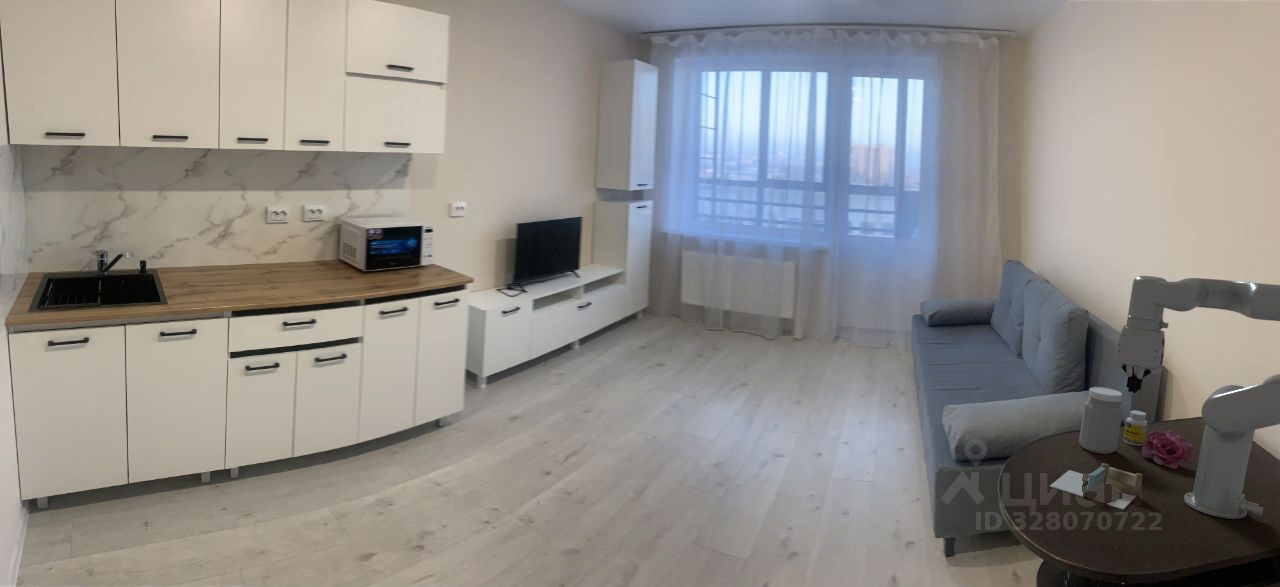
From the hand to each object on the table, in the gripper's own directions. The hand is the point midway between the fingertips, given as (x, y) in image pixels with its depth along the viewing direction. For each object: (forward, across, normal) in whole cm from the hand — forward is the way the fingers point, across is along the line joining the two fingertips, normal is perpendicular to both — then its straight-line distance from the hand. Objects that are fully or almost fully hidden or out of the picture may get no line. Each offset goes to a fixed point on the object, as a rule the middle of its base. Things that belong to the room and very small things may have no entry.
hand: (1133, 391), depth 199 cm
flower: (+25, -5, -24) cm, 36 cm away
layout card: (+25, +2, +12) cm, 28 cm away
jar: (+25, +11, -20) cm, 34 cm away
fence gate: (+24, +2, +13) cm, 28 cm away
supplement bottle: (+25, +5, -34) cm, 43 cm away
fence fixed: (+25, -2, +8) cm, 26 cm away
